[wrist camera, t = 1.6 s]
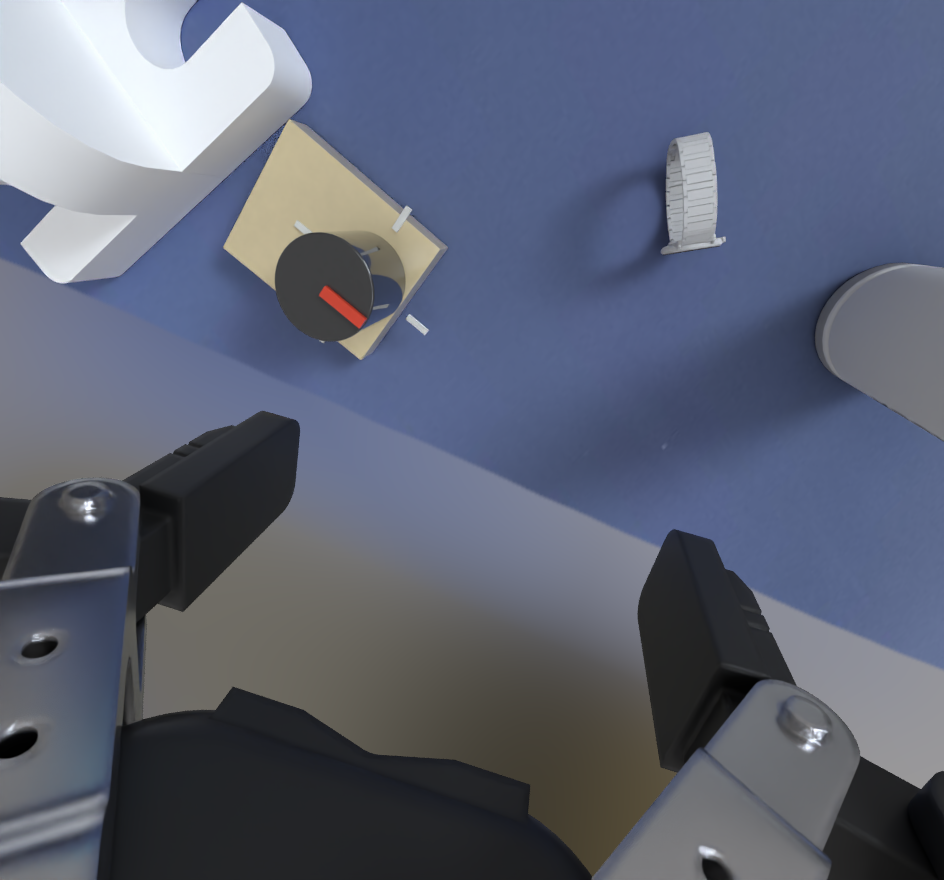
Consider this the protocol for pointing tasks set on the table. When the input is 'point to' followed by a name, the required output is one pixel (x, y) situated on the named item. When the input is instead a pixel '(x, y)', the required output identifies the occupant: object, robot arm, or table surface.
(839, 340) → the travel mug
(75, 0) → the bracket
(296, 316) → the hob knob
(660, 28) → the table surface
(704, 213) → the wristwatch
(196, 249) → the table surface
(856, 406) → the table surface
